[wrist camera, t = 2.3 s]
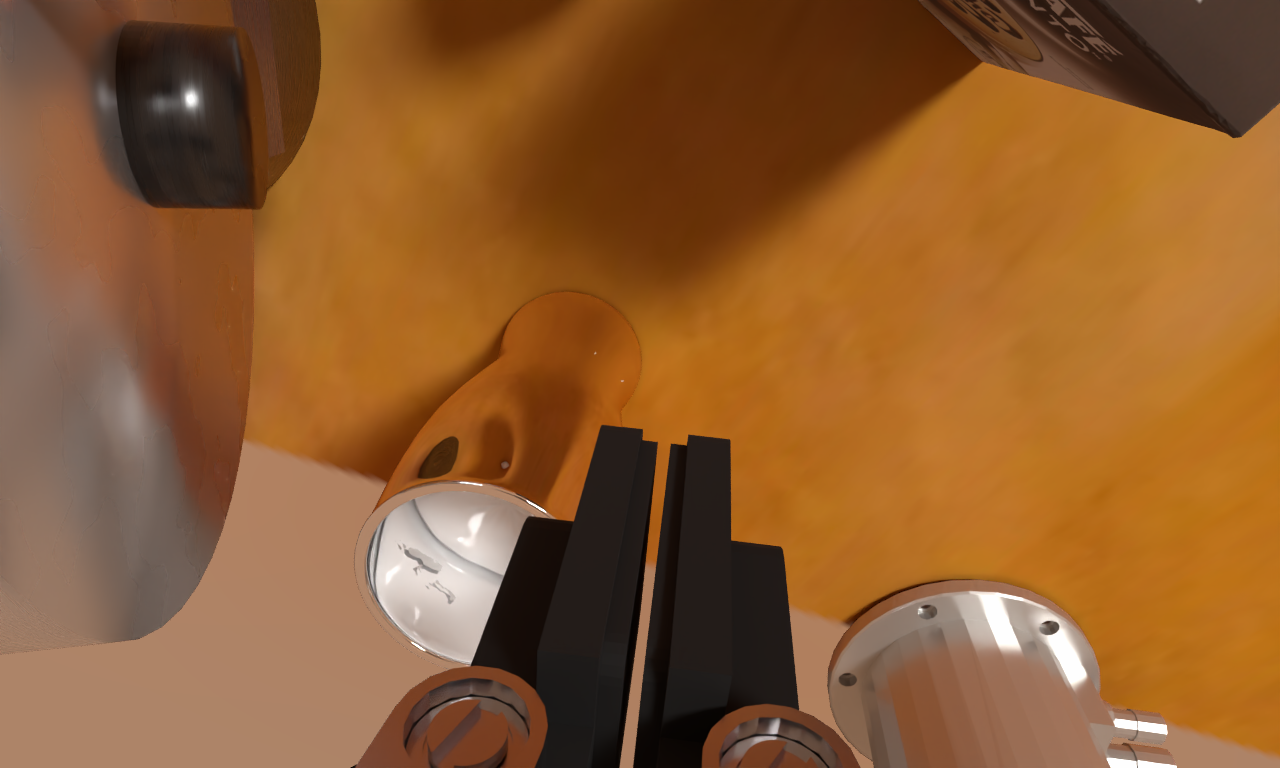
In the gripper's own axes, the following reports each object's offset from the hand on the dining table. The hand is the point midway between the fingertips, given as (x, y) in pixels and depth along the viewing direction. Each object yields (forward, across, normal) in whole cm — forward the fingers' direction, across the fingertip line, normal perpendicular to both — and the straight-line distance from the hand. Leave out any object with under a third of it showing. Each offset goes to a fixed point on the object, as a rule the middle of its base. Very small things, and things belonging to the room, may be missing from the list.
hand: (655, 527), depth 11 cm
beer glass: (+23, +5, +8) cm, 25 cm away
